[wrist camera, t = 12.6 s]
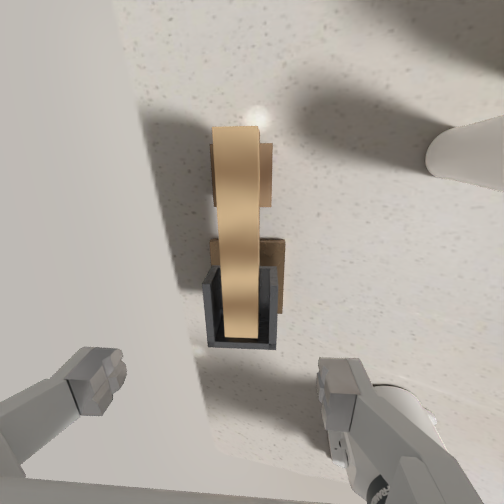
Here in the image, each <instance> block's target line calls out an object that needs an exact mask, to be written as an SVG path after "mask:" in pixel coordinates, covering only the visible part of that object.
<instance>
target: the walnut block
mask: <svg viewBox="0 0 504 504" xmlns="http://www.w3.org/2000/svg"><path fill="white" fill-rule="evenodd" d="M272 149H273V143H260V207H271V196H272ZM210 155H211V170H212V186H213V201H214V207H217V201H216V184H215V168H214V152H213V144H210Z"/></svg>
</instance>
